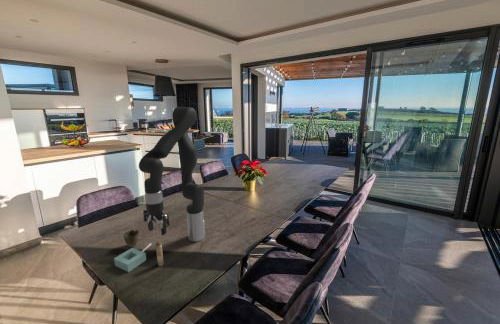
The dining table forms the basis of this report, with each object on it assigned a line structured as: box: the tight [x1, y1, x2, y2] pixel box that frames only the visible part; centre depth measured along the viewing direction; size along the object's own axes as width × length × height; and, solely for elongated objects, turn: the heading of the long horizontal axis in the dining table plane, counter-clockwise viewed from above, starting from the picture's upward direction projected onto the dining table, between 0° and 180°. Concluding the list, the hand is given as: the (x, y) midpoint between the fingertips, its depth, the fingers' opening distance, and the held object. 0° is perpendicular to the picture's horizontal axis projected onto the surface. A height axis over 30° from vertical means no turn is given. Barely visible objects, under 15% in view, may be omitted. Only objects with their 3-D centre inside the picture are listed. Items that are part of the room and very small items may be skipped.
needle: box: [155, 241, 164, 267], centre depth 114 cm, size 3×3×12 cm
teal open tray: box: [113, 247, 147, 273], centre depth 116 cm, size 10×10×4 cm
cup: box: [122, 229, 139, 248], centre depth 130 cm, size 8×7×8 cm
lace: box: [141, 242, 152, 253], centre depth 127 cm, size 10×1×1 cm, turn 168°
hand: (157, 232), depth 111 cm, fingers open, 8 cm apart
